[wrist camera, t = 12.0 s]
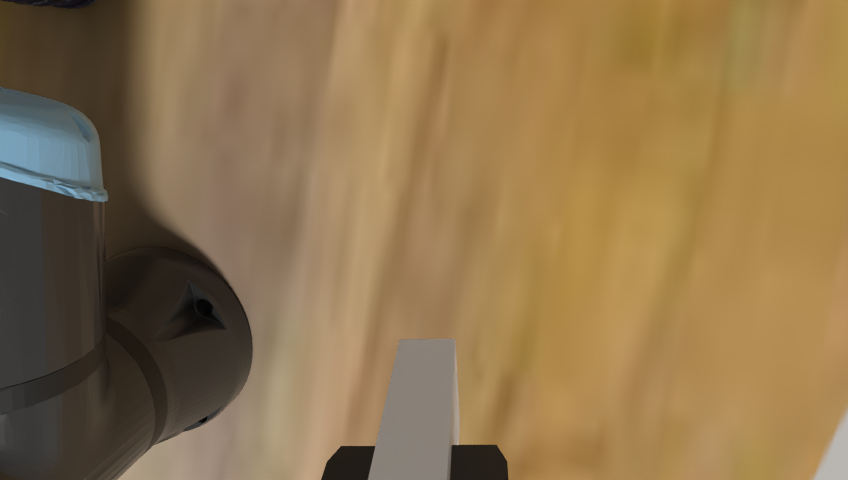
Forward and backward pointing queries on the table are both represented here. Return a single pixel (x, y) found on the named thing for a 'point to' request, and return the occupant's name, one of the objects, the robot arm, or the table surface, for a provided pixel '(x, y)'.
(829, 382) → the table surface
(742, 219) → the table surface
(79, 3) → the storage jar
